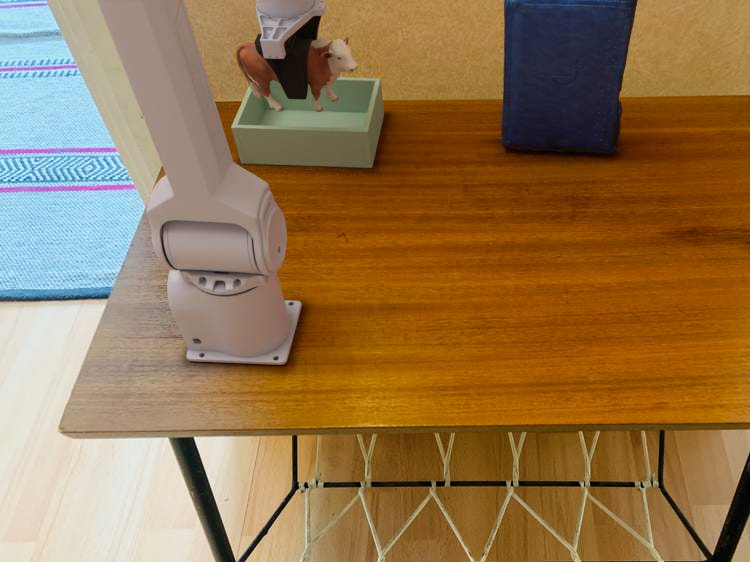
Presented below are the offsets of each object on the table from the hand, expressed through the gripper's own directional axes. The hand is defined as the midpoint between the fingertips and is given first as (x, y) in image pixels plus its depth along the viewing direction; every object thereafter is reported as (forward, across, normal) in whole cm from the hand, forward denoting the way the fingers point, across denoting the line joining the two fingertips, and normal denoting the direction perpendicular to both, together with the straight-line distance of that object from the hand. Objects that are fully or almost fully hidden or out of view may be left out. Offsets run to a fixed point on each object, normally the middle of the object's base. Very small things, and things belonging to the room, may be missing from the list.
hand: (301, 85), depth 86 cm
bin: (+9, +4, +1) cm, 10 cm away
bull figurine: (+2, 0, 0) cm, 3 cm away
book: (+10, +4, -29) cm, 31 cm away
